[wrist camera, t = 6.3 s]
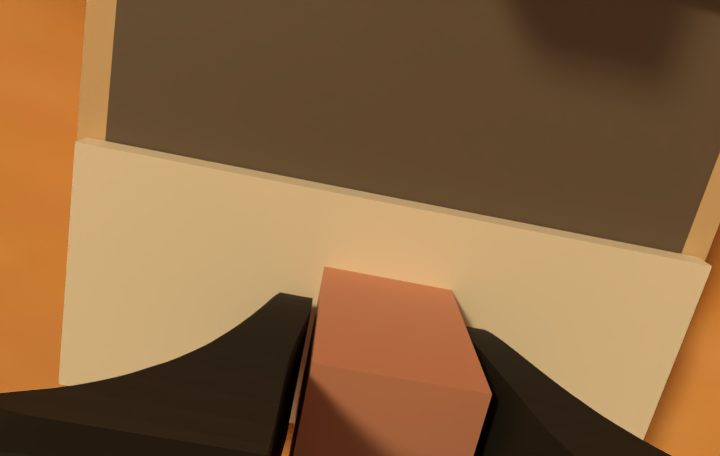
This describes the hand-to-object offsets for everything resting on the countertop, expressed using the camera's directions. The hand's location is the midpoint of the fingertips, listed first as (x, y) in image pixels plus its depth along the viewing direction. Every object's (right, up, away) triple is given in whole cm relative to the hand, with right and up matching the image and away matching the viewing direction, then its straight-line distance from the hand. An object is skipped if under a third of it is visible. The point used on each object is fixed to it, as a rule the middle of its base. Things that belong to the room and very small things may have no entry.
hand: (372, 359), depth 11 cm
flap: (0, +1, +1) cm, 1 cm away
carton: (+1, +4, +4) cm, 6 cm away
